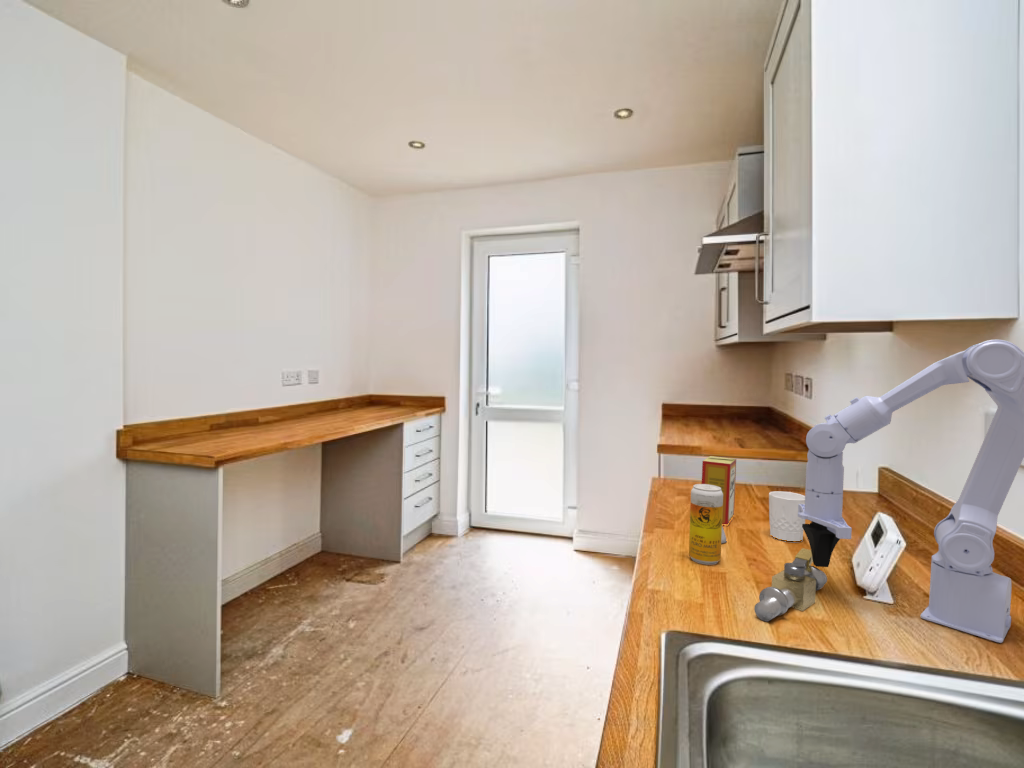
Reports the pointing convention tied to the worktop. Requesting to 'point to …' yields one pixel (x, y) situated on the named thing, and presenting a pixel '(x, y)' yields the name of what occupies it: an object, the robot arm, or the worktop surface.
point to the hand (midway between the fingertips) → (820, 565)
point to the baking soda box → (721, 481)
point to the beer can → (705, 524)
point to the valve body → (789, 593)
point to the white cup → (785, 515)
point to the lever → (798, 565)
